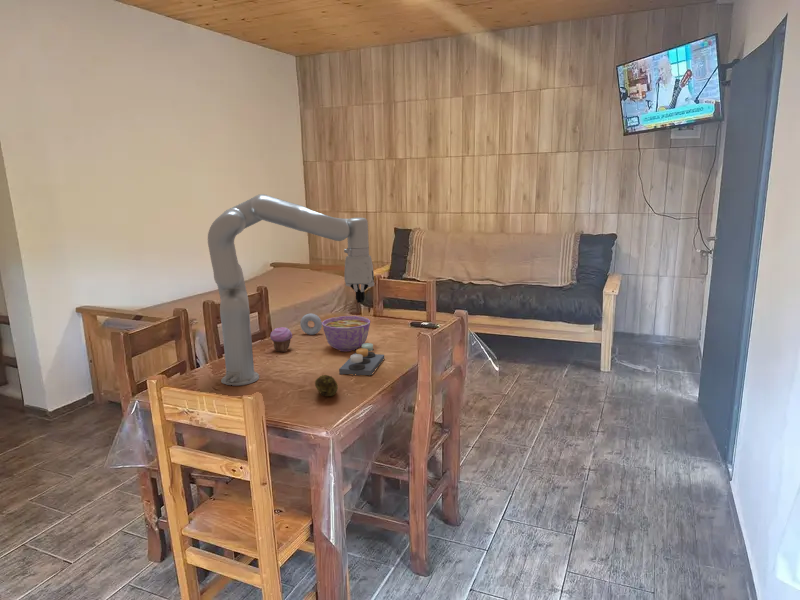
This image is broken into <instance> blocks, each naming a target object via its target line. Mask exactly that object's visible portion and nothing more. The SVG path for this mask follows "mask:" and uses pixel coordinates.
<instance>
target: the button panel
mask: <svg viewBox="0 0 800 600" xmlns="http://www.w3.org/2000/svg"><path fill="white" fill-rule="evenodd" d="M354 354H356V352H355V353H354ZM383 359H384V360H385V354H378V353H375V352H373V351H368V356H366V357H363V361H362V362H360V363H352V362H351V357H350V358H348V359H347V360H346V362H344V363H343V364H342V365H341V367H340V368H339V369H338V372H339V373H338V374H339V375H343V374H353V375H352V376H360V375H372V376H373V374H374V373H375V372H376V371H375V369H376V368H377V367H378V366H379V364H380V363H381V362H382V361H383ZM383 362H384V361H383ZM383 362H382V363H383ZM382 363H381V364H382ZM381 364H380V365H381ZM379 367H380V366H379ZM379 367H378V368H379ZM378 368H377V369H378ZM377 369H376V370H377ZM374 371H375V372H374ZM373 372H374V373H373ZM372 373H373V374H372ZM355 374H356V375H355Z"/></svg>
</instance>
